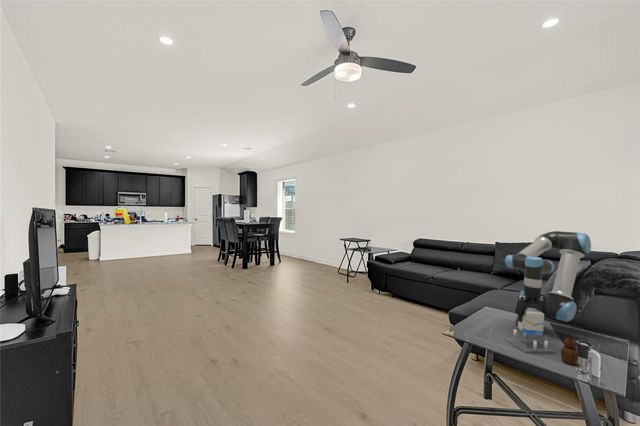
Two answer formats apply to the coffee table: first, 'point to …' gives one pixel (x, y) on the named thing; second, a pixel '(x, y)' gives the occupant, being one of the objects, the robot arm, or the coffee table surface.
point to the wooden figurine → (570, 351)
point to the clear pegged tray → (529, 344)
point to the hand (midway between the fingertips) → (530, 327)
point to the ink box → (533, 322)
